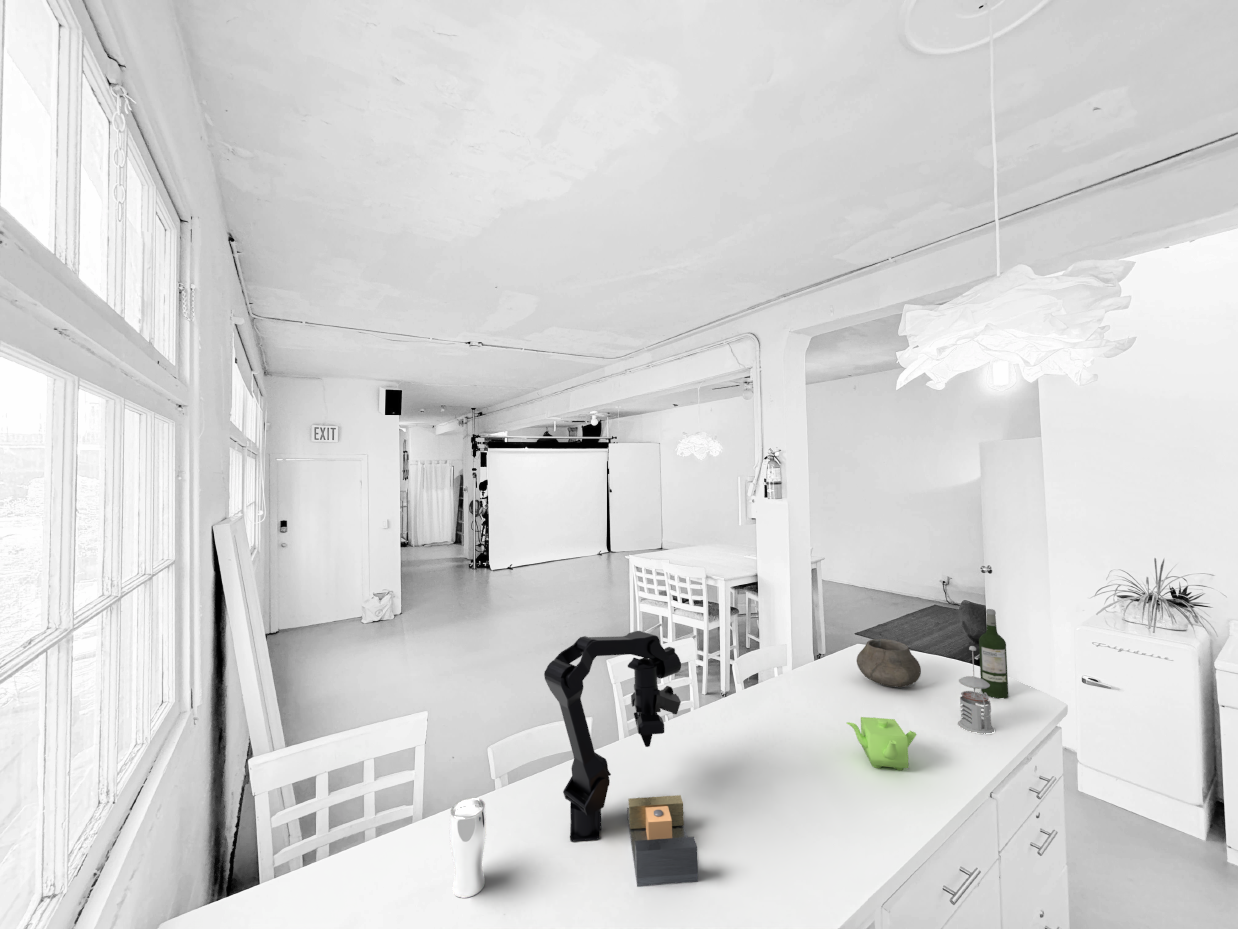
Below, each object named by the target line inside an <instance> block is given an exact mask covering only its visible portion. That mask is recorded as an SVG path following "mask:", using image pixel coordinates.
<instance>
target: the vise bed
mask: <svg viewBox="0 0 1238 929" xmlns="http://www.w3.org/2000/svg"><path fill="white" fill-rule="evenodd" d="M626 815H627V824H628V831H629V836H630V837H629V838H630V845H631V851H632V852H631V853H632V861H633V867H634V868H633V869H634V873H635V880H636V882H635V883H636V887H645V886H646V887H648V886H659V885H670V884H671V885H672V884H684V883H697V882H699V868H698V863H699V862H698V861H699V860H698V846H697V842H696V839H695V836H687V832H686V830H685V826H684V825H680V826H672V838H667V839H653V840H648V839H647V833H646V828H637V829H630V825H629V807H626Z"/></svg>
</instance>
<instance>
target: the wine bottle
mask: <svg viewBox="0 0 1238 929" xmlns="http://www.w3.org/2000/svg"><path fill="white" fill-rule="evenodd" d="M985 613H986V631H985V632H984V633H983V634H982V635H980V637H979V638H978V648H979V670H980V671H979V672H980V673H979V674H980V678H981V679H983V680H985V681H986V682H988V683H989V684H990V686H989V687H988V688H986V689H980V691H981V694H982V693H983V694H984V693H986V694H987V695H988V697H989V698H993V697H994V698H995V699H999V698H1004V699H1007V698H1009V680H1008V678H1009V677H1008V659H1007V642H1006V640H1005V639H1004V638H1003V637H1002V636H1001V635H1000V634H999V633H998V628H997V619H996V614H997V613H996V610H995V609H992V608H987V609H986V610H985ZM986 694H985V695H986ZM987 695H986V696H987Z"/></svg>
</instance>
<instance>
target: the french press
mask: <svg viewBox="0 0 1238 929" xmlns="http://www.w3.org/2000/svg"><path fill="white" fill-rule="evenodd" d="M968 650H969V651H972V652H971V654H972V672H973V676H972V675H966V676H963V677H960V678H959V679H958V682H959V683H960V684H961V685H963V686H965V687H968V688H971V689H972V688H973V690H965V691H962V692H961V693H960V695H961V696H960V697H959V702H960V703H959V705H961V706H960V713H961V714H960V717H961V718H960V720H959V721H958V722H957V725H958V727H959V726H960V728H961V729H962V728H963V729H962V730H964V729H965V730H964V731H966V730H967V732H969V731H971V732H970V733H972V732H977V733H983V734H984V733H985V734H986V733H992V732H994V729H995V728H994V727H993V726H992V715H991V713H992V703H991V700H990V697H989V696H988V695H987V694H986V693H984V694H983V693H982V692H977V691H976V689H977V690H979V689H980V690H981V689H986V688H988V687H989V686H990V684H989V683H988V682H986V681H985V680H983V679H981V677H977V676H975V663H974V662H975V660H974V651H975V652H976V651H977V647H976V646H974V645H970V646H969V647H968ZM985 694H986V695H987V696H986V695H985ZM977 704H978V705H977ZM981 705H982V706H981ZM983 734H982V735H983Z"/></svg>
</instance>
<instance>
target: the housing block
mask: <svg viewBox="0 0 1238 929" xmlns="http://www.w3.org/2000/svg"><path fill="white" fill-rule="evenodd" d="M646 833H647V839H648V840H653V839H667V838H672V820H671V816H670V812H669V808H668V806H661V807H646Z"/></svg>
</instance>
